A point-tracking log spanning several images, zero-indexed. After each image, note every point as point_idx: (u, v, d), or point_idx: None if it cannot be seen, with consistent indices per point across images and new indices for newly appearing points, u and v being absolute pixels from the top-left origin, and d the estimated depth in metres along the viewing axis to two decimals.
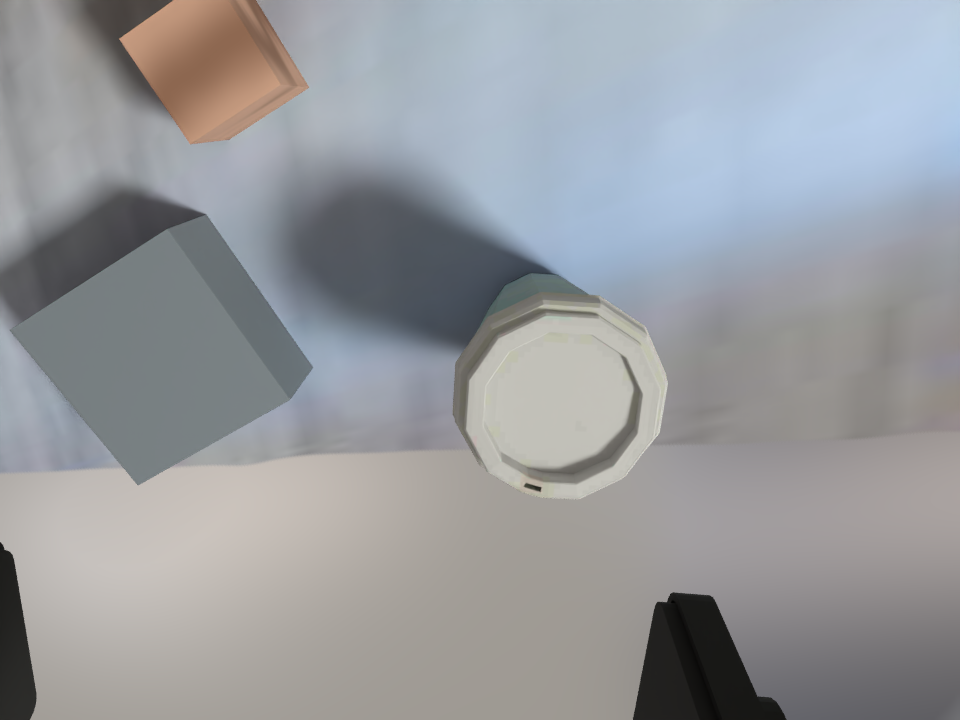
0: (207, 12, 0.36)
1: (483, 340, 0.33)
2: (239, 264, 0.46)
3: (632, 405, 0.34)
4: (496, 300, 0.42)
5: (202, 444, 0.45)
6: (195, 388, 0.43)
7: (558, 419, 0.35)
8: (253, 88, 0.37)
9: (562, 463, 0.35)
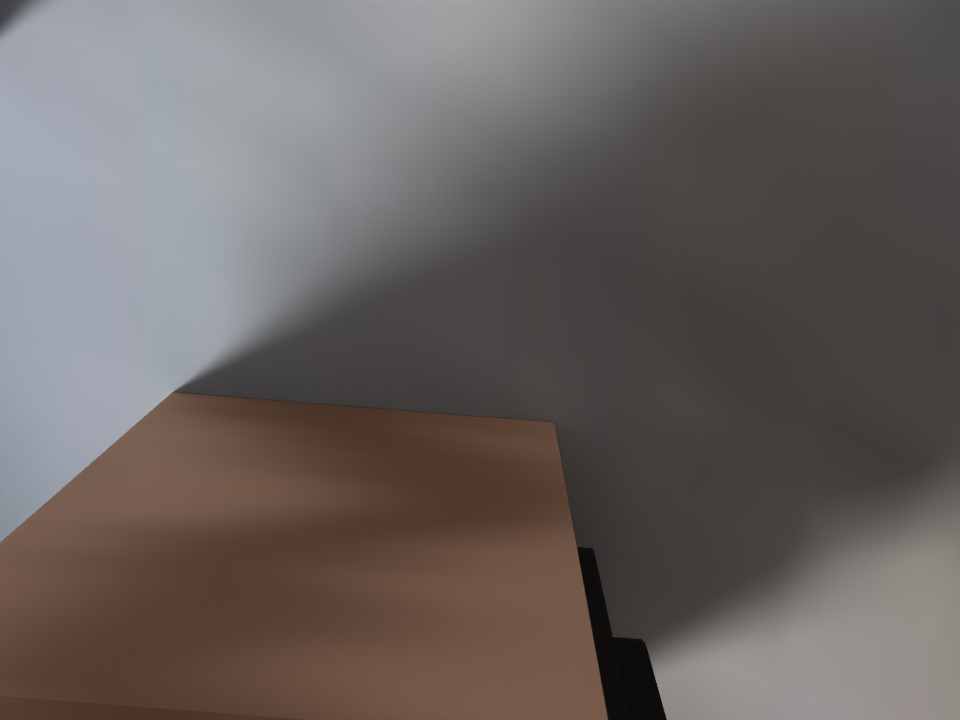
0: None
1: None
2: None
3: None
4: None
5: None
6: None
7: None
8: None
9: None
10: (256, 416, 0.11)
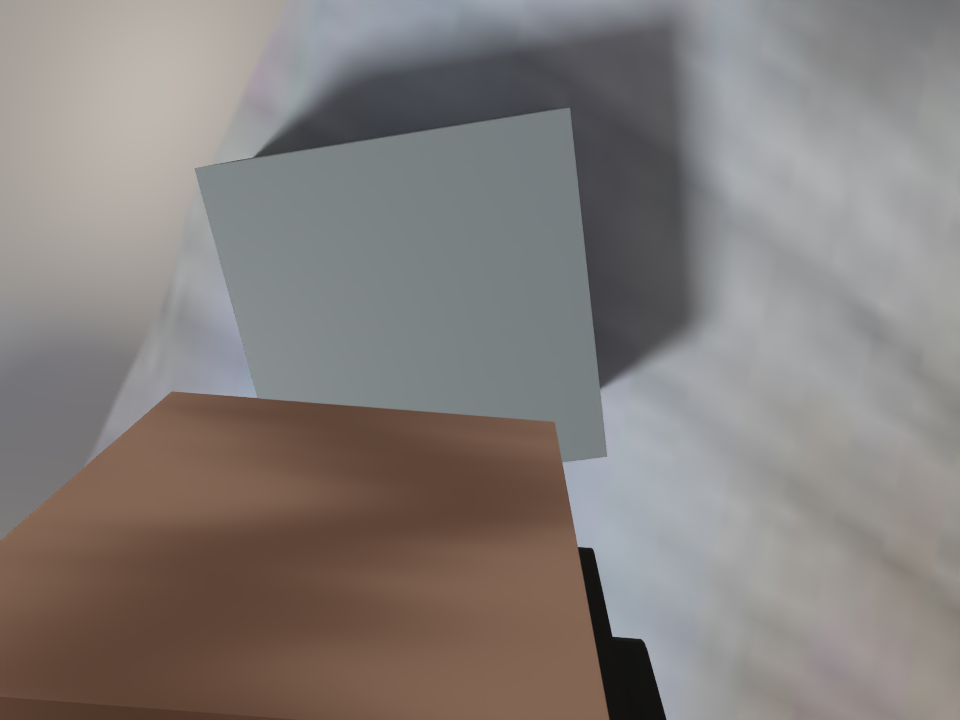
0: None
1: None
2: None
3: None
4: None
5: (246, 329, 0.24)
6: (350, 369, 0.25)
7: None
8: None
9: None
10: (255, 415, 0.11)
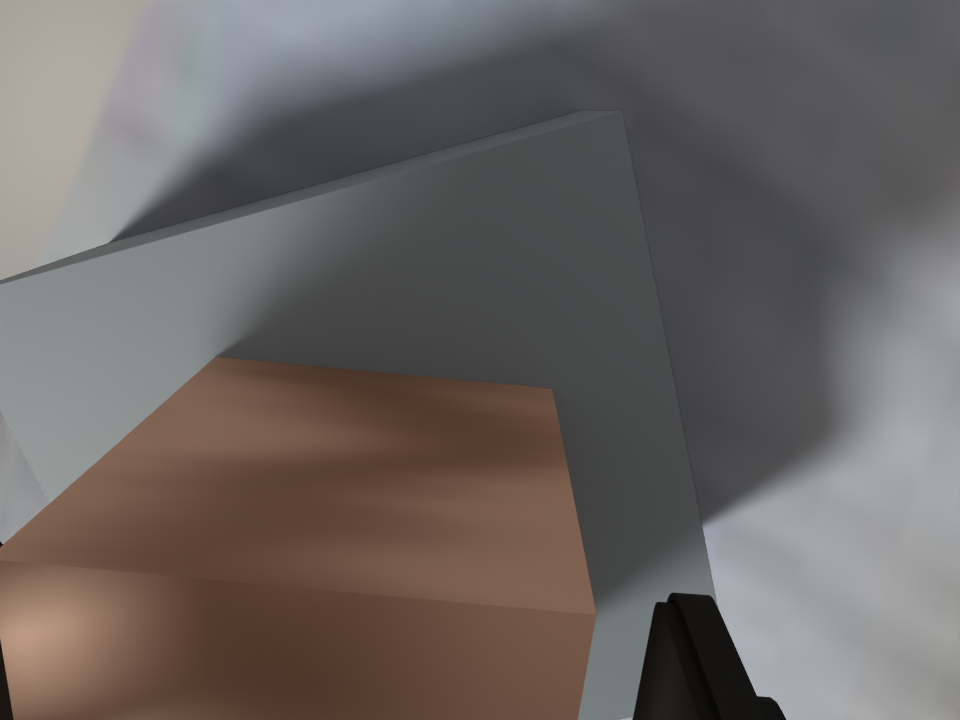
0: None
1: None
2: None
3: None
4: None
5: None
6: None
7: None
8: None
9: None
10: (291, 377, 0.12)
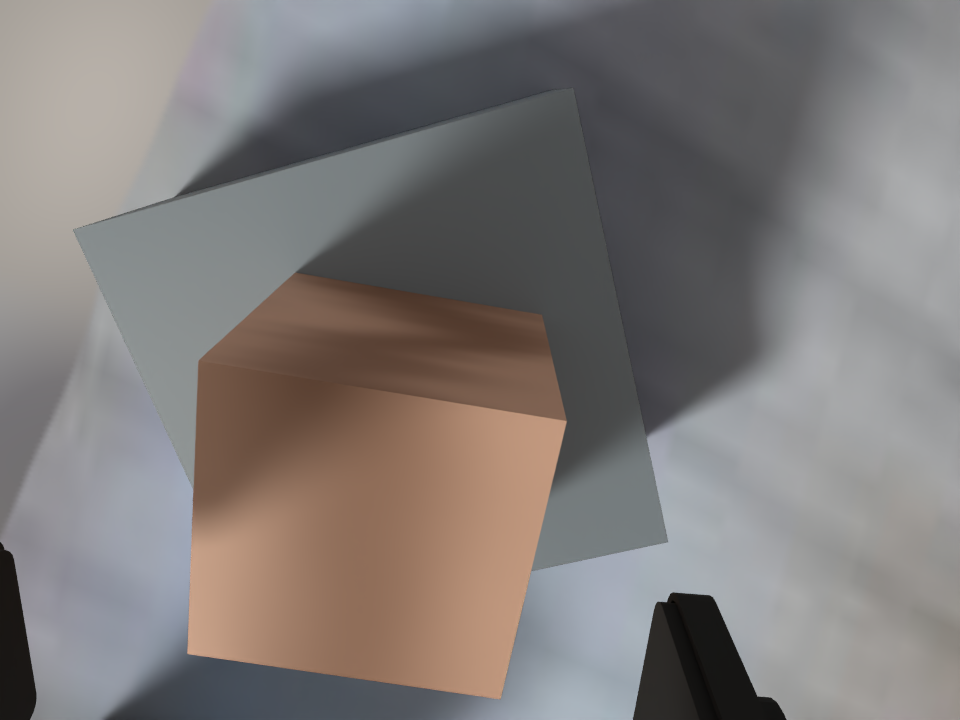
0: (443, 637, 0.13)
1: None
2: None
3: None
4: None
5: (175, 430, 0.18)
6: None
7: None
8: (221, 599, 0.13)
9: None
10: (353, 290, 0.16)
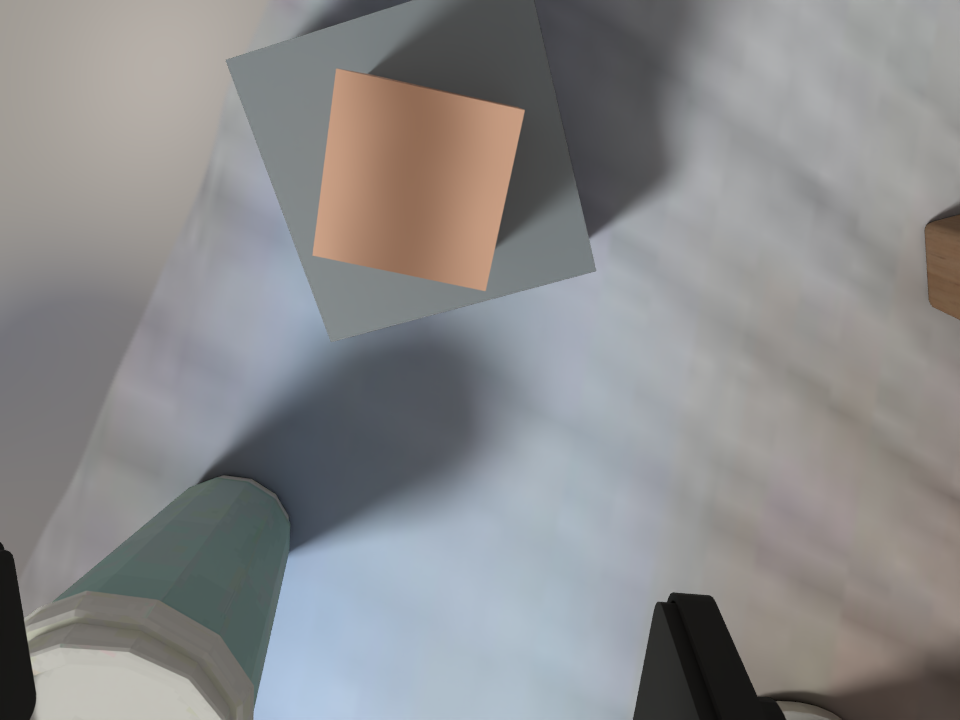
0: (455, 247, 0.24)
1: (229, 694, 0.28)
2: None
3: None
4: (276, 552, 0.37)
5: (282, 195, 0.29)
6: None
7: (97, 709, 0.28)
8: (334, 219, 0.24)
9: (38, 687, 0.28)
10: None
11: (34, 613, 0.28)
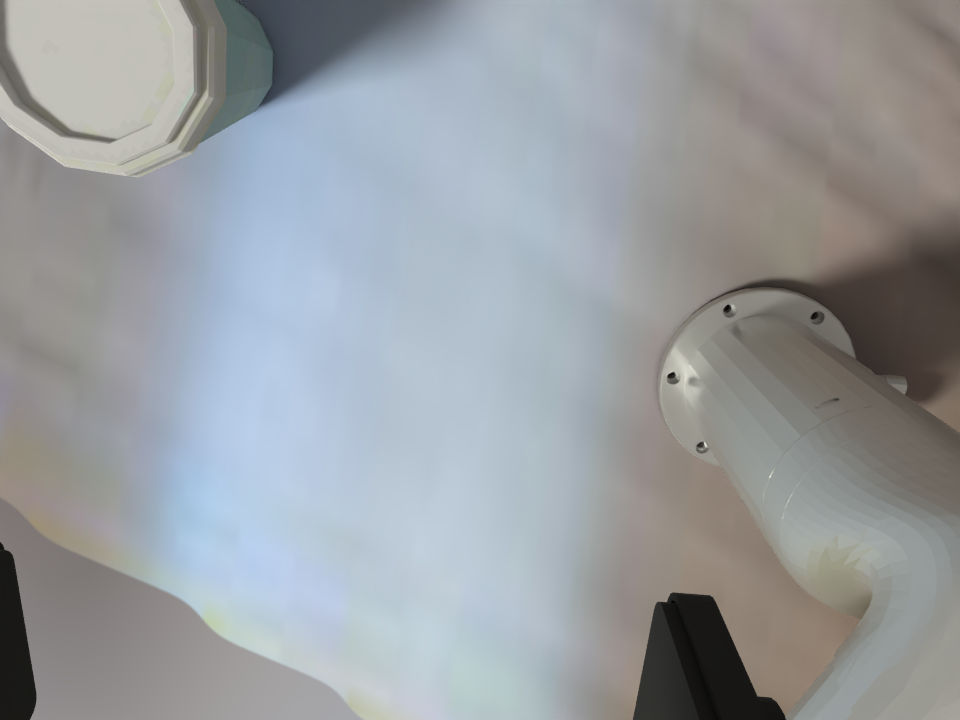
0: None
1: (200, 8, 0.28)
2: None
3: (53, 118, 0.30)
4: (257, 36, 0.37)
5: None
6: None
7: (69, 30, 0.28)
8: None
9: None
10: None
11: None
